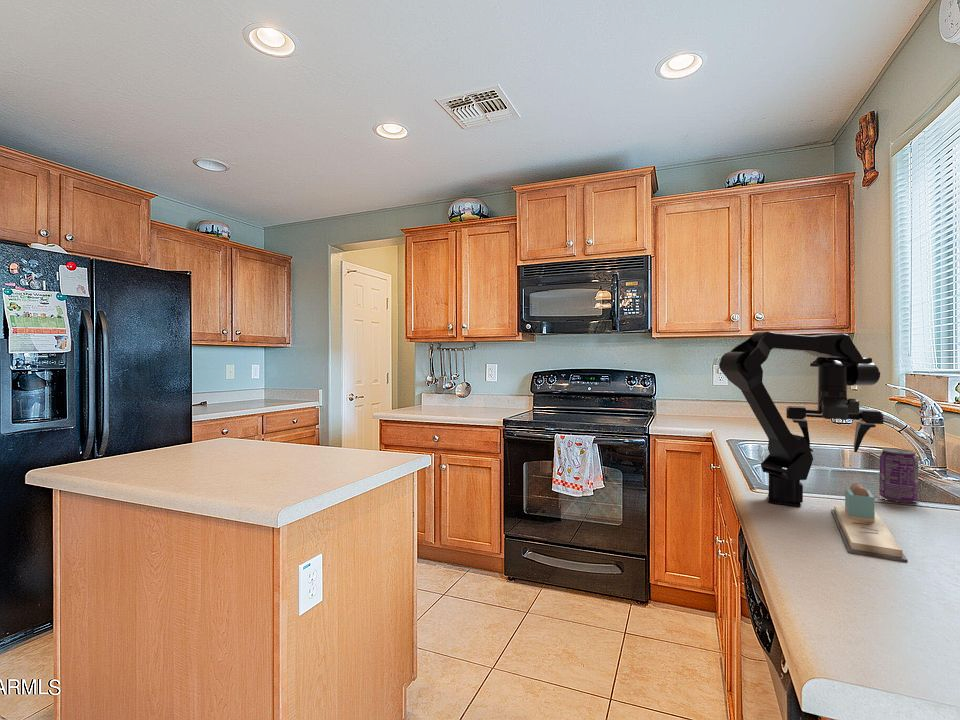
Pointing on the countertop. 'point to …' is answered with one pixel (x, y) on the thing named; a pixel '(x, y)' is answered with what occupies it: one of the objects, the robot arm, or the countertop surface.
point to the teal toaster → (859, 503)
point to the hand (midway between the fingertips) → (831, 450)
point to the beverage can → (898, 475)
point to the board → (867, 536)
